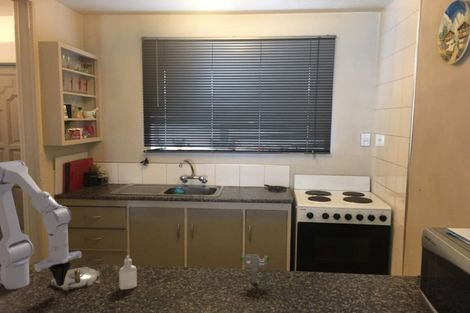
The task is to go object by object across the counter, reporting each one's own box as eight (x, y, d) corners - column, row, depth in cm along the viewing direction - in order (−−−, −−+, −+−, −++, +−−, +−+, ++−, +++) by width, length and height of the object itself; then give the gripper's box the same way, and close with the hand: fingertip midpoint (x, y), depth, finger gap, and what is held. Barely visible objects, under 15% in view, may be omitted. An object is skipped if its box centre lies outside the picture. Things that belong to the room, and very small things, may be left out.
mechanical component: (268, 284, 125) (269, 257, 124) (240, 283, 125) (240, 257, 124) (267, 280, 127) (268, 254, 127) (240, 280, 128) (240, 253, 127)
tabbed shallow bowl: (50, 276, 126) (50, 262, 126) (96, 268, 134) (96, 254, 133) (52, 293, 114) (51, 277, 113) (102, 283, 121) (102, 268, 121)
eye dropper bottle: (134, 292, 117) (133, 258, 116) (117, 292, 117) (117, 258, 116) (138, 286, 121) (137, 253, 120) (122, 286, 122) (122, 253, 121)
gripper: (41, 254, 104) (43, 297, 105) (86, 241, 116) (87, 280, 117) (30, 249, 108) (32, 290, 109) (74, 237, 120) (76, 274, 121)
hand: (60, 284), depth 114 cm, fingers closed
